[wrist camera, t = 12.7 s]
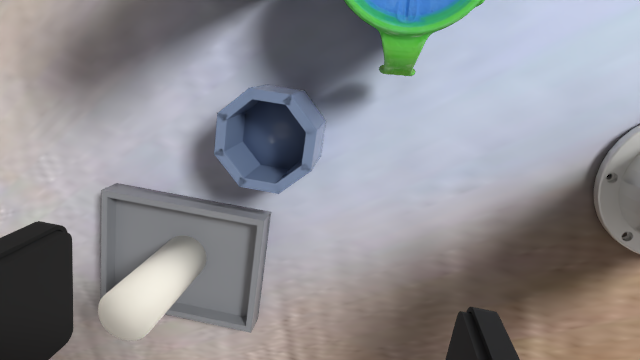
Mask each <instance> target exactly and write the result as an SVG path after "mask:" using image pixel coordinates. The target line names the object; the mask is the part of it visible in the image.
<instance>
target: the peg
mask: <svg viewBox="0 0 640 360" xmlns="http://www.w3.org/2000/svg"><path fill="white" fill-rule="evenodd" d="M205 264H206V252H205V250H204V248H203V246H202V245H201V244H200V243H199V242H198V241H197V240H196V239H194V238H192V237H189V236H177V237H174V238H172V239H171V240H170V241H168V242H167V243H166V244H165V245H164V246H162V247H161V248H160V249H159V250H158V251H156V252H155V253H154V254H153V255H152V256H150V257H149V258H148V259H147V260H146V261H144V262H143V263H142V264H141V265H140V266H139V267H137V268H136V269H135V270H134V271H133V272H131V273H130V274H129V275H128V276H127V277H125V278H124V279H123V280H122V281H121V282H119V283H118V284H117V285H116V286H115V287H113V288H112V289H111V290H110V291H109V292H107V293H106V294H105V295H104V296H103V297H102V298H101V300H100V302H99V305H98V316H99V319H100V322H101V324H102V325H103V327H104V328H105V329H106V330H107V331H108V332H109V333H110V334H111V335H113V336H114V337H116V338H118V339H121V340H125V341H136V340H139V339H142V338H144V337H145V336H146V335H147V334H148V333H149V332H150V331H151V330H152V328H153V327H154V326H155V325H156V324H157V323H158V321H159V320H160V319H161V318H162V317H163V316H164V314H165V313H166V312H167V311H168V310H169V308H170V307H171V306H172V305H173V304H174V303H175V301H176V300H177V299H178V298H179V297H180V296H181V294H182V293H183V292H184V291H185V290H186V289H187V287H188V286H189V285H190V284H191V283H192V282H193V280H194V279H195V278H196V277H197V276H198V275H199V273H200V272H201V271H202V270H203V268H204V267H205Z"/></svg>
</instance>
